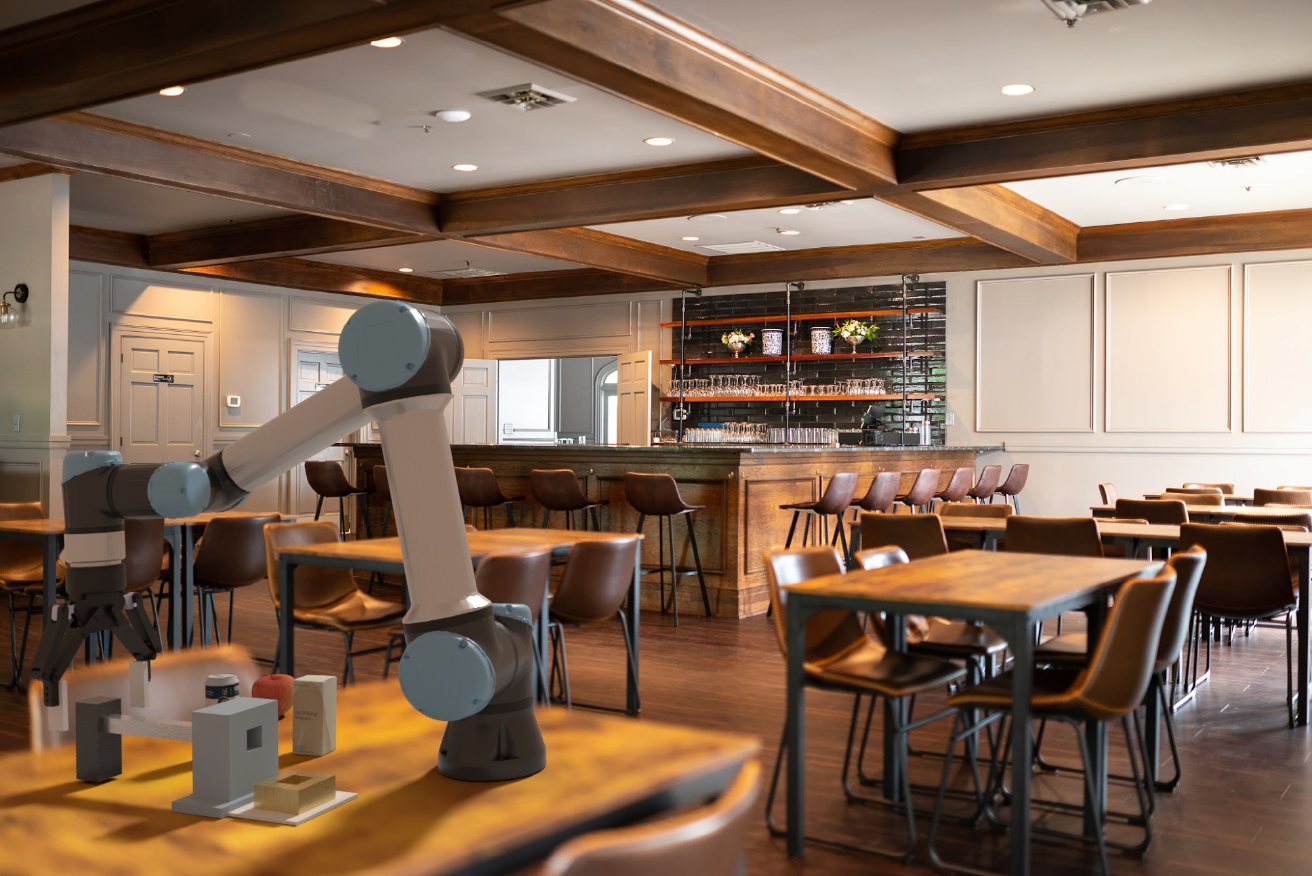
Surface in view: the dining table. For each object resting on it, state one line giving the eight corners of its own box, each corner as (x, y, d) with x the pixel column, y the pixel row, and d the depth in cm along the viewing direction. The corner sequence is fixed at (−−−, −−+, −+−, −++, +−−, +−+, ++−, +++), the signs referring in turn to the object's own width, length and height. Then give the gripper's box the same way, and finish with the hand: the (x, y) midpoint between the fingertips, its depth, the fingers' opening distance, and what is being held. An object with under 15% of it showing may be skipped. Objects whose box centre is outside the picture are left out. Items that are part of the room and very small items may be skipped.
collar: (292, 792, 151) (335, 798, 148) (253, 808, 145) (298, 815, 142) (291, 769, 151) (335, 775, 148) (253, 784, 145) (298, 790, 142)
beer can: (228, 762, 167) (227, 679, 167) (198, 761, 168) (197, 678, 168) (246, 753, 172) (245, 672, 172) (217, 752, 173) (216, 671, 173)
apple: (302, 710, 199) (301, 664, 199) (291, 721, 192) (290, 672, 192) (258, 712, 199) (257, 665, 199) (246, 722, 191) (245, 674, 191)
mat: (358, 796, 151) (358, 793, 151) (296, 825, 139) (296, 822, 139) (289, 788, 155) (289, 785, 155) (224, 815, 144) (224, 812, 144)
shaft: (236, 788, 153) (235, 708, 153) (214, 797, 149) (213, 715, 149) (100, 771, 162) (99, 695, 162) (76, 779, 158) (75, 702, 158)
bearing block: (297, 786, 155) (296, 696, 155) (222, 818, 142) (220, 720, 142) (249, 780, 158) (248, 692, 158) (171, 811, 145) (170, 715, 145)
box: (291, 754, 171) (290, 679, 171) (306, 747, 175) (306, 673, 175) (323, 756, 170) (322, 681, 170) (338, 749, 174) (337, 675, 174)
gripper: (145, 554, 172) (150, 697, 172) (-6, 573, 149) (-1, 739, 149) (185, 554, 170) (189, 699, 169) (36, 574, 146) (42, 742, 146)
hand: (100, 718), depth 159 cm, fingers open, 13 cm apart
